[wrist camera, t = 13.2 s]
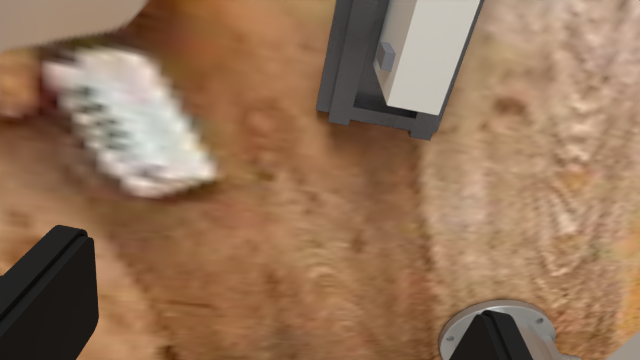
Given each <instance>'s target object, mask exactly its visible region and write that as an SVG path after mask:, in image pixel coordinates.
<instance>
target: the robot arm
mask: <svg viewBox="0 0 640 360" xmlns="http://www.w3.org/2000/svg"><path fill="white" fill-rule="evenodd" d="M98 319H99V312H98V296H97V281H96V265H95V249H94V240H93V238H90V237H88V235H87V232H86V230H83V229H78V228H73V227H68V226H63V225H57V226H55V227H53V228H52V229H51V230H50V231H49V232H48V233H47V234H46V235H45V236H44V237H43V238H42V239H41V240H40V241H39V242H38V243H36V244H35V245H34V246H33V247H32V248H31V249H30V250H29V251H28V252H27V253H26V254H25V255H24V256H23V257H22V258H21V259H20V260H19V261H18V262H17V263H16V264H15V265H14V266H12V267H11V268H10V269H9V270H8V271H7V272H6V273H5V274H4V275H2V276H0V360H76V359H77V357H78V356H79V354H80V353H81V351H82V349H83V348H84V346H85V345H86V343H87V342H88V340H89V339H90V337H91V336H92V334H93V332H94V331H95V328H96V326H97V323H98ZM555 338H556V335H555V329H554V327H553V325H552V323H551V321H550V319H549V318H548V316H547V315H546V314H545V313H544V312H543V311H542V310H541V309H539V308H537V307H536V306H534V305H532V304H529V303H525V302H522V301H515V300H495V301H488V302H484V303H480V304H477V305H474V306H471V307H469V308H467V309H465V310H463V311H461V312H460V313H458V314H457V315H456V316H454V317H453V318H452V319H451V320H450V321H449V322H448V323H447V324H446V325H445V326H444V328H443V330H442V332H441V334H440V337H439V349H440V353H441V357H442V359H443V360H581V358H580V357H579V356H576V355H569V354H561V353H560V352H559V351H558V350H557V348H556V346H555V344H554V343H555Z"/></svg>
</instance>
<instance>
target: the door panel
mask: <svg viewBox="0 0 640 360" xmlns="http://www.w3.org/2000/svg"><path fill="white" fill-rule="evenodd" d="M479 2H480V0H389V4H388V8H387V12H386V16H385V19H384V23H383V27H382V31H381V35H380V39H379V43H378V47H377V51H376V54H375V58H374V62H373V66H374V69H375V72H376V74H377V77H378V80H379V83H380V86H381V89H382V92H383V95H384V98H385V101H386V104H387V105H388V106H393V107H398V108H403V109H408V110H413V111H418V112H424V113H429V114H434V115H439V113H440V110H441V107H442V104H443V102H444V99H445V96H446V93H447V90H448V88H449V85H450V82H451V79H452V77H453V74H454V71H455V68H456V66H457V63H458V60H459V57H460V55H461V52H462V49H463V46H464V44H465V41H466V38H467V35H468V33H469V30H470V27H471V24H472V21H473V19H474V16H475V13H476V10H477V8H478V5H479Z"/></svg>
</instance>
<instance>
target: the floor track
mask: <svg viewBox="0 0 640 360" xmlns="http://www.w3.org/2000/svg"><path fill="white" fill-rule="evenodd" d="M483 2H484V0H480V2H479V5H478V8H477V10H476V13H475V16H474V19H473V21H472V24H471V27H470V30H469V33H468V35H467V38H466V41H465V44H464V46H463V49H462V52H461V55H460V57H459V60H458V63H457V66H456V68H455V71H454V74H453V77H452V79H451V82H450V85H449V88H448V90H447V93H446V96H445V99H444V102H443V104H442V107H441V110H440V113H439V115H434V114H429V113H424V112H418V111H413V110H408V109H403V108H398V107H393V106H388V105H387V104H386V101H385V98H384V95H383V92H382V89H381V86H380V83H379V80H378V77H377V74H376V72H375V69H374V66H373V62H374V58H375V54H376V51H377V47H378V43H379V39H380V35H381V31H382V27H383V23H384V19H385V16H386V12H387V8H388V4H389V0H336V5H335V10H334V16H333V21H332V26H331V31H330V37H329V42H328V47H327V53H326V58H325V63H324V68H323V74H322V79H321V84H320V90H319V95H318V100H317V105H316V110H318V111H324V112H328V122H332V123H337V124H342V125H348V126H349V122H350V120H355V121H361V122H366V123H371V124H377V125H382V126H388V127H393V128H398V129H404V130H407V131H408V134H409V136H410V137H413V138H419V139H424V140H430V139H431V136H432V133H433V132H437V130H438V127H439V124H440V121H441V119H442V116H443V113H444V110H445V108H446V105H447V102H448V99H449V96H450V94H451V91H452V88H453V85H454V82H455V80H456V77H457V74H458V71H459V69H460V66H461V63H462V60H463V57H464V55H465V52H466V49H467V46H468V44H469V41H470V38H471V35H472V32H473V30H474V27H475V24H476V21H477V19H478V16H479V13H480V10H481V7H482V5H483Z"/></svg>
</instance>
